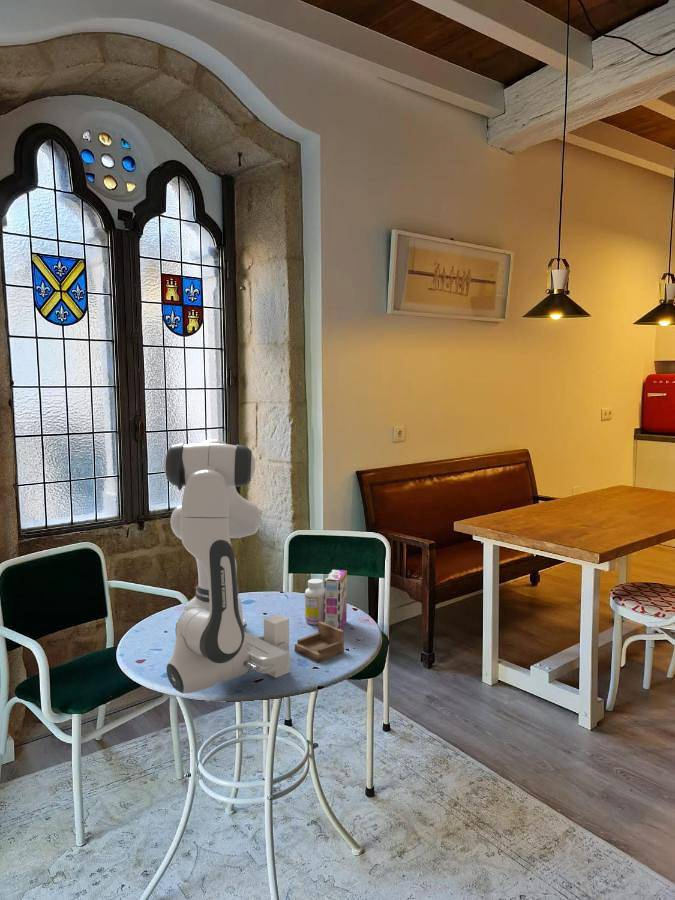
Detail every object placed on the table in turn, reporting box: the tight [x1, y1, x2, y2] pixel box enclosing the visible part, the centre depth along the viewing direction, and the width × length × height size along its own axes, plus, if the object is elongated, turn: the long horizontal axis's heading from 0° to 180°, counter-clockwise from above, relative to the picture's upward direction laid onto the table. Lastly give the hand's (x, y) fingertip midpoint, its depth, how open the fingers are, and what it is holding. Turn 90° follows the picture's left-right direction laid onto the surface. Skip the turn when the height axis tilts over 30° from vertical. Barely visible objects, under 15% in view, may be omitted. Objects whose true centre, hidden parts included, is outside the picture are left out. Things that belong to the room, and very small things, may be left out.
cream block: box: [263, 614, 291, 679], centre depth 160 cm, size 4×5×14 cm
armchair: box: [294, 621, 345, 663], centre depth 173 cm, size 10×10×6 cm
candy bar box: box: [323, 569, 348, 630], centre depth 189 cm, size 11×5×16 cm, turn 168°
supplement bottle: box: [304, 578, 324, 626], centre depth 195 cm, size 7×7×13 cm
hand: (279, 641), depth 161 cm, fingers closed on cream block, 4 cm apart
